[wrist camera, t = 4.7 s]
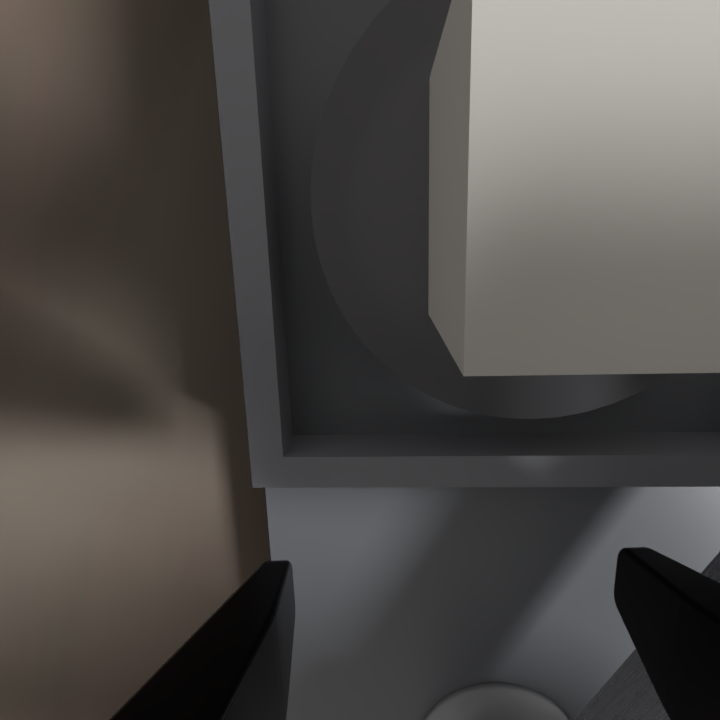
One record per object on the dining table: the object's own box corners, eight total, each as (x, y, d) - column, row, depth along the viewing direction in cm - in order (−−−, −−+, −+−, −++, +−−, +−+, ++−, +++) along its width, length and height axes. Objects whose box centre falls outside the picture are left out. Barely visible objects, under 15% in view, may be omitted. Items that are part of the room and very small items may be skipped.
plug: (768, -47, 7) (1397, -507, 3) (702, 394, 9) (1031, 557, 5) (309, -20, 8) (201, -390, 3) (329, 398, 10) (276, 553, 5)
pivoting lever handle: (871, 440, 9) (1119, 545, 6) (519, 833, 11) (566, 1041, 8) (750, 370, 8) (941, 441, 6) (420, 787, 11) (433, 983, 8)
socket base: (904, -648, 7) (1145, -1057, 5) (673, 763, 13) (731, 869, 11) (199, -564, 7) (121, -898, 5) (299, 753, 13) (283, 852, 11)
